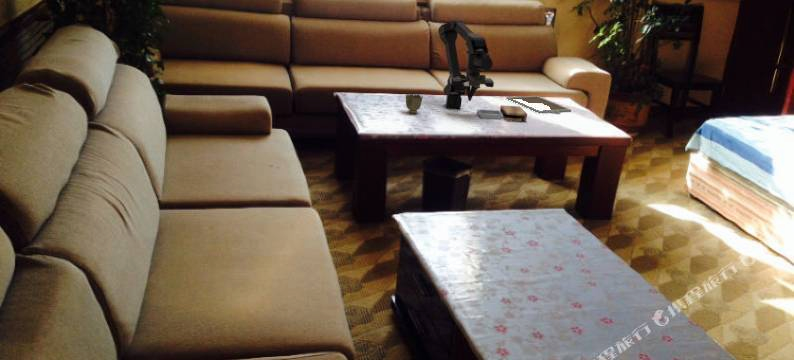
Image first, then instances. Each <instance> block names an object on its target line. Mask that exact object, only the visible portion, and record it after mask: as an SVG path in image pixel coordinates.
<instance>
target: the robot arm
mask: <svg viewBox="0 0 794 360" xmlns="http://www.w3.org/2000/svg"><path fill="white" fill-rule="evenodd" d="M437 31H438V35H439V39H440V41H441V42H442V43H443V44H444V47H445V53H446V60H447V61H446V62H447V66H448V70H449V71H448V72H449V76H448V78H447V81H446V83H447V84H446V85H445V86H444V88H443V94H444V95H446V98H445V103H444V106H445V108H446V109H451V110H453V109H454V110H461V108H462V101H463V98H462V96H465V94H466V95H467V99H468V101H469V102H470V101H472V99H473V96H474V95H475V93H476V91H477V90H478V89H481V85H484V86H485V87H486V88H494V86H495V85H494V84H495V82H494V81H493V79H492V78H487V77H486V76H487V75H486V74H481V70H482V71H485V72H488V71H489V70H491V68H492V67H493V64H494V62H493V60H492V58H491V57H490V54H489V48H488V46H487V41H486V39H485V37H484V36H482V35H481V34H477V33H475V32H473V30H471V29H470V28H469V27H468V26H467V24H466V23H464V21H463V20H462V19H453V20H451V21H449V22H446V23H444V24H441V25H440V26H439V27H438V30H437ZM458 36H460V37H461V38H462V40H464V41H465V43H464V44H465V46H466V47H467V51H465V53H466V54H467V56H468V57H467V62H466V63H467V64H466V70H465V71H466V72H465V74H462V73H461V72H462V71H461V70H460V68H461V67H460V61H459V57H458V51H457V43H456V41H457V39H458Z"/></svg>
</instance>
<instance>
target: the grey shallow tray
mask: <svg viewBox="0 0 794 360" xmlns="http://www.w3.org/2000/svg"><path fill="white" fill-rule="evenodd" d="M476 114H477V116H478V117H479V119H481V120H482V119H484V120H485V119H486V120H500V119H504V115H503V114H502V113H501V112H500V109H499V110H498V109H497V110H495V109H479V108H478V109H477V113H476Z"/></svg>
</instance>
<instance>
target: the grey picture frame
mask: <svg viewBox="0 0 794 360" xmlns="http://www.w3.org/2000/svg"><path fill="white" fill-rule="evenodd" d="M505 99H506V100H507V99H508V100H507V101H509V100H511V101H513V102H512V103H514V102H515V103H514V104H516V103H518V104H520V105H522V106H521V107H523V106H524V107H523V108H525V107H526V109H527V108H529V109H531V110H530V111H532V110H533V111H532V112H534V111H535V112H534V113H536V112H538V113H542V114H553V115H561V113H571V112H572V109H571V108H568V107H565V106H563V105H561V104H558V103H556V102H553V101H551V100H549V99H546V98H544V97H541V96H539V95H527V96H525V95H524V96H506V98H505ZM513 99H522V100H523V101H526V102H528V103H543V104H544V105H547V106H549V107H550V109H551V110H543V111H539V110H536V109H534V108H532V107H529V106H527V105H525V104H523V103H520V102H518V101H516V100H513ZM511 101H510V102H511ZM518 104H517V105H518ZM520 105H519V106H520ZM529 109H528V110H529ZM538 113H537V114H538Z"/></svg>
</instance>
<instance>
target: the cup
mask: <svg viewBox="0 0 794 360" xmlns="http://www.w3.org/2000/svg"><path fill="white" fill-rule="evenodd" d="M423 97H424V96H423V95H421V94H419V93H418V94H416V93H414V94H413V93H407V94H405V105H406V108H407V109H408V113H409V114H411V115H412V114H413V115H414V114H417V112H418V110H419V109H420V108H421V105H422V101H423Z"/></svg>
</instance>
